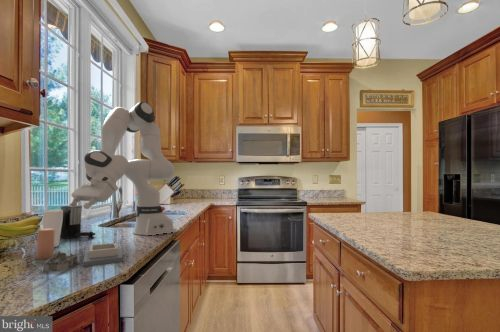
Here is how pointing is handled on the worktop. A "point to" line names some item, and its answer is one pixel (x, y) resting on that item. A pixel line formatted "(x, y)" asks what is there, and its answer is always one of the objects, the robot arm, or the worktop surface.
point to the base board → (102, 254)
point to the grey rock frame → (60, 261)
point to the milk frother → (72, 222)
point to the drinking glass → (53, 223)
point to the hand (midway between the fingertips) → (78, 207)
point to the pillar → (45, 243)
